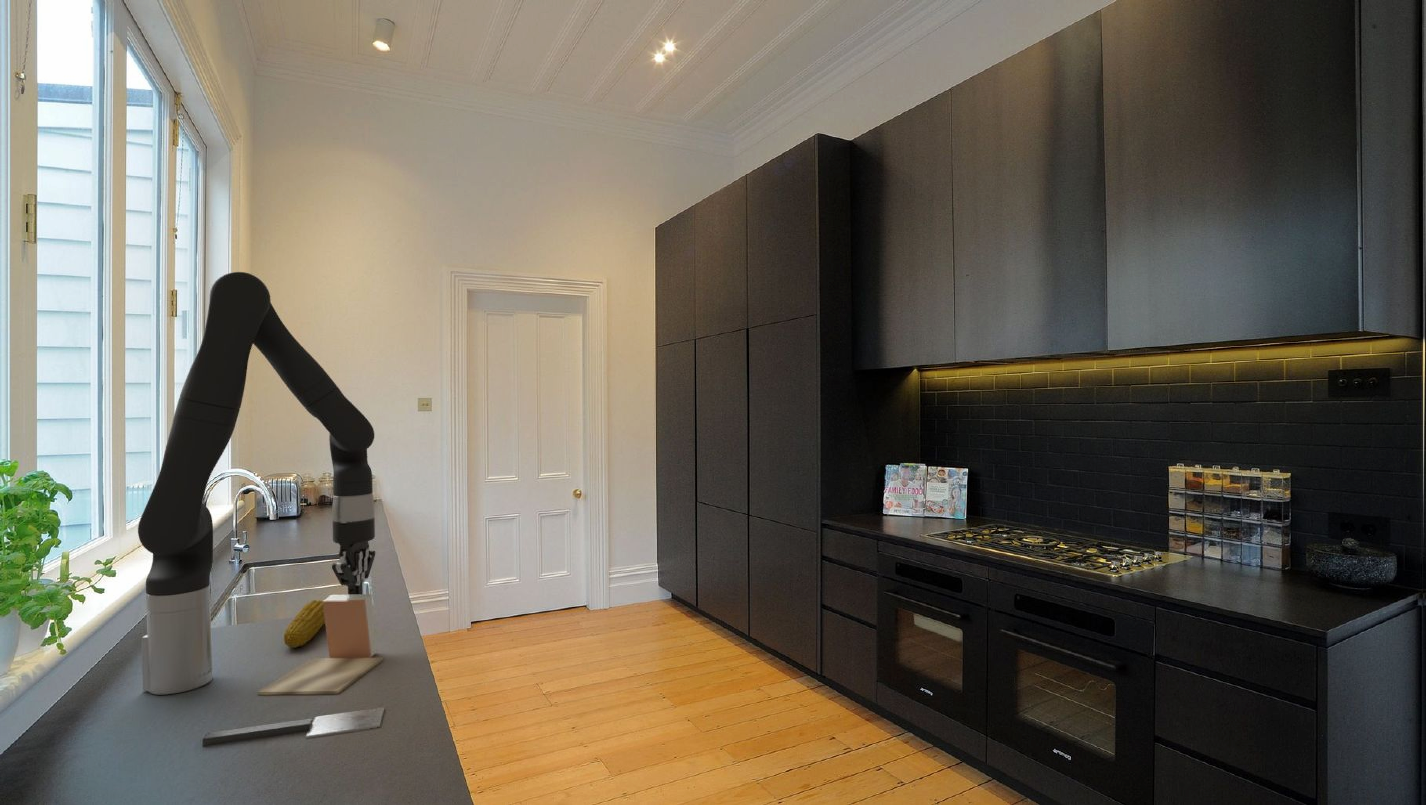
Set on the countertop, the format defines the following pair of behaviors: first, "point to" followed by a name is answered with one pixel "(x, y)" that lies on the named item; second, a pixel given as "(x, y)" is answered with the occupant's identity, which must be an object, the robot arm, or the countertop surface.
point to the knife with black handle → (302, 727)
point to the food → (305, 624)
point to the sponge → (350, 626)
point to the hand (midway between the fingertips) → (355, 603)
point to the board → (321, 676)
